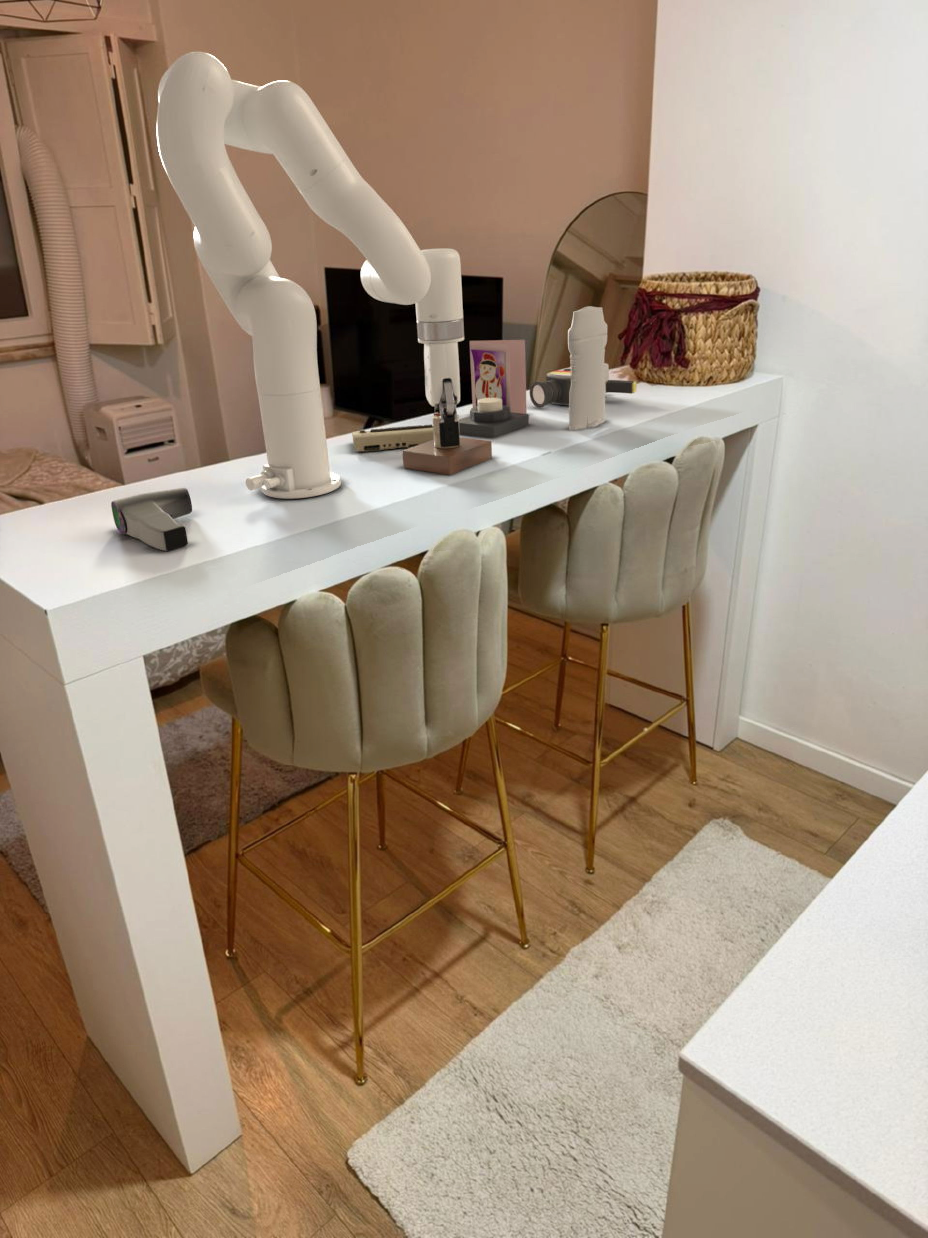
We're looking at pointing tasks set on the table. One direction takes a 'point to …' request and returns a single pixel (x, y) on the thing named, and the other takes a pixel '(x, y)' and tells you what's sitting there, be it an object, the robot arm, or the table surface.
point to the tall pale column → (587, 368)
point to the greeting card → (499, 372)
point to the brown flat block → (447, 456)
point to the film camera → (560, 384)
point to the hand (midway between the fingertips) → (447, 439)
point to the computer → (392, 437)
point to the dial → (436, 431)
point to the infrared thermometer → (154, 517)
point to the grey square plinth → (492, 422)
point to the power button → (489, 404)
